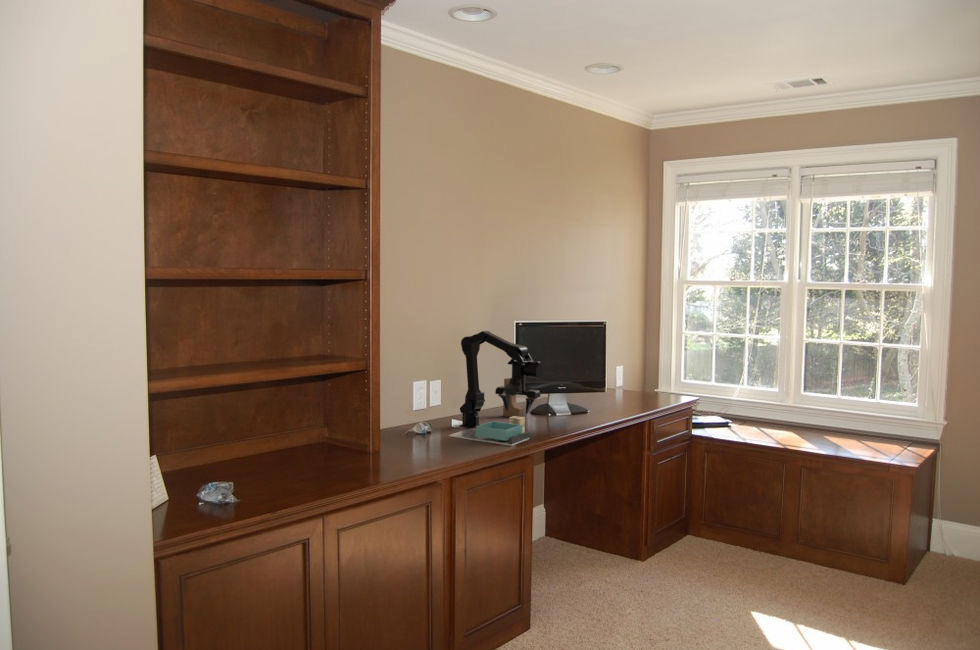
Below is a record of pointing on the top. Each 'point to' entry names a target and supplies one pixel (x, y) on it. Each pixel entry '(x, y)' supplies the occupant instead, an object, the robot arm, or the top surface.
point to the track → (471, 435)
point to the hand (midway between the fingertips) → (517, 412)
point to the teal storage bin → (498, 430)
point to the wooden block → (512, 405)
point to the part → (518, 421)
